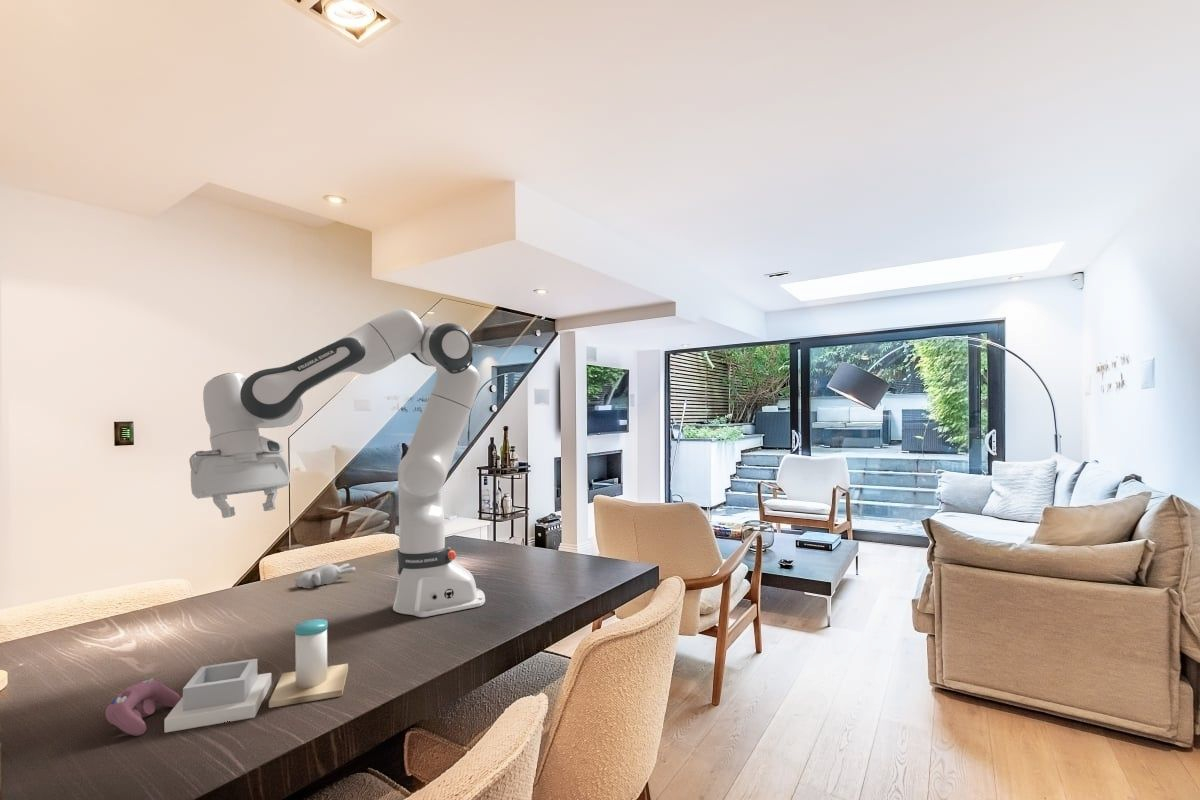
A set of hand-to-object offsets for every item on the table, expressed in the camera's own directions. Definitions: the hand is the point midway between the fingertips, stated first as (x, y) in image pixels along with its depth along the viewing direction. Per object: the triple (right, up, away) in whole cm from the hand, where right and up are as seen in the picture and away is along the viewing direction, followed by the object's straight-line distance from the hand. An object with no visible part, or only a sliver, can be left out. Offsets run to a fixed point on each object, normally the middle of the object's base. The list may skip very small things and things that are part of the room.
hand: (250, 513), depth 116 cm
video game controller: (0, -28, -27) cm, 39 cm away
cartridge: (+21, -26, -17) cm, 38 cm away
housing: (+10, -27, -23) cm, 37 cm away
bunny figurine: (-7, -30, +47) cm, 56 cm away
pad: (+21, -27, -17) cm, 39 cm away
